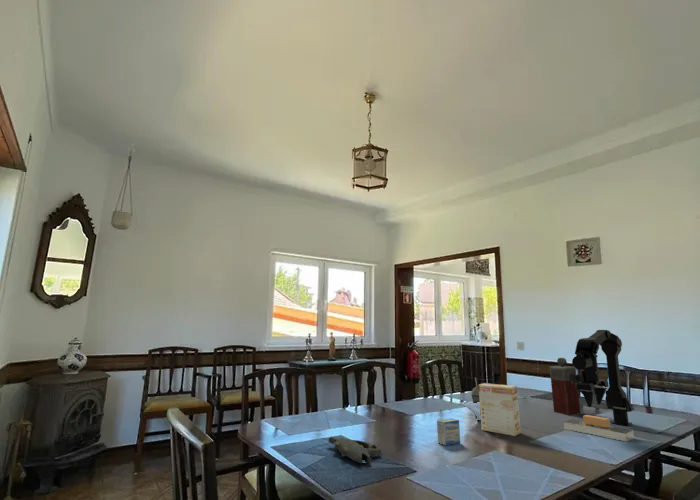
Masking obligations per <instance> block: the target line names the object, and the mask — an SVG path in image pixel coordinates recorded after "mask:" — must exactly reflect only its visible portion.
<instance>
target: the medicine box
mask: <svg viewBox="0 0 700 500" xmlns="http://www.w3.org/2000/svg"><path fill="white" fill-rule="evenodd" d="M436 423H437V425H436V427H437V443H438V444H439V443H440V444H439V445H442V444H443V445H442V446H444V445H445V446H444V447H447V446H446V445H448V446H452V445H451V444H453V445H457V443H458V444H460V443H461V432H460V431H461V430H460V429H461V427H460V420H458V419H456V418H447V419H439V420H437V421H436Z"/></svg>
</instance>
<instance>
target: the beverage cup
mask: <svg viewBox="0 0 700 500" xmlns="http://www.w3.org/2000/svg"><path fill="white" fill-rule="evenodd" d="M474 381H475V387H473V388H472V391H471V394H470V395H471V399H472V402H473V403H477V402H480V400H479V385H478V382H477V377H474ZM473 403H472V404H473ZM474 416H475V420H476V419H477V416H476V415H475V414H474Z"/></svg>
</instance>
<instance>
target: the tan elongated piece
mask: <svg viewBox="0 0 700 500" xmlns="http://www.w3.org/2000/svg"><path fill="white" fill-rule="evenodd" d="M328 443H330V444H333V445H334V446H333V450H338V451H339V453H340V454H341V457H347V458H349V459H350V458H351V459H350V460H352V461H353V462H355V461H356V462H355V463H357V462H358V464H359V463H362V460H365V462H368V463H370V462H372V457H370V456H373V457H375V456H374V455H379V456H381V455H382V449H381V448H377V446H376V444H371V443H369V442H367V441H363V440H356V439H350V438H344V437H343V436H337V437H335V436H330V437H329V438H328ZM365 448H366V449H365ZM380 454H381V455H380Z"/></svg>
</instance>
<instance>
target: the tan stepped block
mask: <svg viewBox="0 0 700 500" xmlns="http://www.w3.org/2000/svg"><path fill="white" fill-rule="evenodd" d="M582 419H583V420H582V421H584V423H585V424H586V425H589V426H593V425H596V426H601V428H605V429H608V428H609V426H611V421H610V418H608V417H602V416H596V415H590V414H585V415H583V416H582Z"/></svg>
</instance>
